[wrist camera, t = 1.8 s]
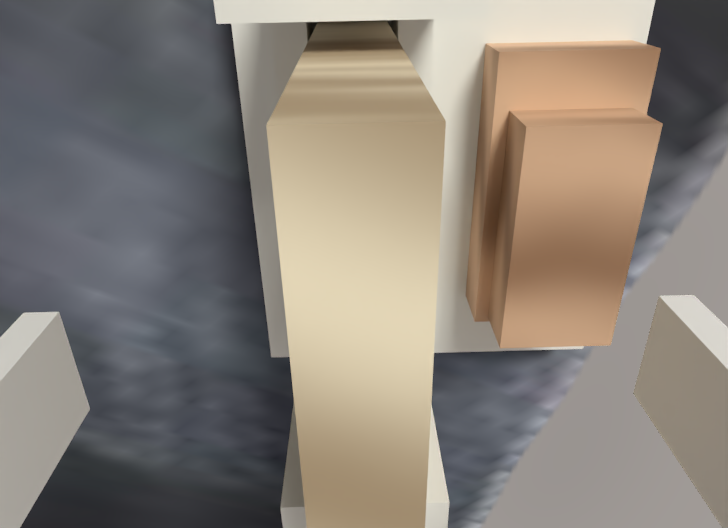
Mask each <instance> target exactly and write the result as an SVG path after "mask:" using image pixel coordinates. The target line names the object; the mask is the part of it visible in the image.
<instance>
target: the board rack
mask: <svg viewBox="0 0 728 528" xmlns="http://www.w3.org/2000/svg"><path fill="white" fill-rule="evenodd" d="M654 4H655V0H214V8H215V15H216V23H217V24H231V26H232V35H233V43H234V51H235V60H236V68H237V76H238V85H239V93H240V101H241V109H242V118H243V126H244V134H245V143H246V151H247V159H248V168H249V176H250V184H251V193H252V201H253V209H254V218H255V226H256V234H257V243H258V251H259V259H260V268H261V276H262V284H263V293H264V301H265V309H266V317H267V326H268V334H269V342H270V351H271V357H290V356H289V346H288V336H287V327H286V317H285V307H284V297H283V287H282V277H281V267H280V257H279V247H278V237H277V227H276V217H275V208H274V198H273V188H272V178H271V168H270V158H269V148H268V138H267V128H266V125H267V123H268V121H269V119H270V117H271V115H272V113H273V111H274V109H275V107H276V105H277V103H278V101H279V99H280V97H281V95H282V93H283V91H284V89H285V87H286V85H287V83H288V81H289V79H290V77H291V75H292V73H293V71H294V69H295V67H296V65H297V63H298V61H299V59H300V57H301V55H302V53H303V51H304V49H305V47H306V45H307V43H308V41H309V39H310V37H311V35H312V33H313V31H314V29H315V27H316V25H317V23H318V22H329V21H375V20H387V22H388V24H389V26H390V27H391V29H392V31H393V32H394V34H395V36H396V37H397V39H398V41H399V43H400V44H401V46H402V48H403V49H404V51H405V53H406V54H407V56H408V58H409V59H410V61H411V63H412V65H413V66H414V68H415V70H416V71H417V73H418V75H419V76H420V78H421V80H422V82H423V83H424V85H425V87H426V88H427V90H428V92H429V93H430V95H431V97H432V98H433V100H434V102H435V104H436V105H437V107H438V109H439V110H440V112H441V114H442V115H443V117H444V119H445V121H446V128H445V148H444V167H443V186H442V206H441V225H440V245H439V264H438V284H437V303H436V323H435V342H434V353H448V352H483V351H519V350H555V349H583V347H584V346H567V347H532V348H500V347H499V345H498V342H497V340H496V337H495V334H494V332H493V329H492V327H491V324H490V321H488V322H475V321H474V318H473V315H472V312H471V309H470V307H469V304H468V301H467V298H466V283H467V271H468V258H469V246H470V233H471V221H472V208H473V196H474V183H475V171H476V158H477V146H478V133H479V120H480V108H481V95H482V83H483V70H484V58H485V45H486V43H528V42H574V41H619V40H633V41H637V42H640V43H644V44H646V42H647V38H648V33H649V28H650V23H651V18H652V14H653V9H654ZM280 509H281V517H282V524H283V528H307V525H306V515H305V505H304V495H303V485H302V475H301V465H300V455H299V446H298V436H297V426H296V416H295V406H294V403H293V411H292V419H291V427H290V435H289V443H288V451H287V459H286V466H285V474H284V482H283V490H282V498H281V506H280ZM448 513H449V498H448V493H447V487H446V482H445V476H444V471H443V465H442V460H441V454H440V449H439V443H438V438H437V432H436V427H435V421H434V416H433V410H432V405H431V420H430V440H429V459H428V478H427V498H426V517H425V528H447V525H448Z"/></svg>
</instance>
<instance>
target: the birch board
mask: <svg viewBox="0 0 728 528" xmlns="http://www.w3.org/2000/svg"><path fill="white" fill-rule="evenodd" d="M266 128H267V138H268V148H269V158H270V168H271V178H272V188H273V198H274V208H275V217H276V227H277V237H278V247H279V257H280V267H281V277H282V287H283V297H284V307H285V317H286V327H287V336H288V346H289V356H290V366H291V376H292V386H293V396H294V406H295V416H296V426H297V436H298V446H299V455H300V465H301V475H302V485H303V495H304V505H305V515H306V525H307V528H425V517H426V498H427V478H428V459H429V440H430V420H431V401H432V381H433V362H434V342H435V323H436V303H437V284H438V264H439V245H440V225H441V206H442V186H443V167H444V148H445V128H446V121H445V119H444V117H443V115H442V114H441V112H440V110H439V109H438V107H437V105H436V104H435V102H434V100H433V98H432V97H431V95H430V93H429V92H428V90H427V88H426V87H425V85H424V83H423V82H422V80H421V78H420V76H419V75H418V73H417V71H416V70H415V68H414V66H413V65H412V63H411V61H410V59H409V58H408V56H407V54H406V53H405V51H404V49H403V48H402V46H401V44H400V43H399V41H398V39H397V37H396V36H395V34H394V32H393V31H392V29H391V27H390V26H389V24H388V22H387V20H375V21H329V22H318V23H317V25H316V27H315V29H314V31H313V33H312V35H311V37H310V39H309V41H308V43H307V45H306V47H305V49H304V51H303V53H302V55H301V57H300V59H299V61H298V63H297V65H296V67H295V69H294V71H293V73H292V75H291V77H290V79H289V81H288V83H287V85H286V87H285V89H284V91H283V93H282V95H281V97H280V99H279V101H278V103H277V105H276V107H275V109H274V111H273V113H272V115H271V117H270V119H269V121H268V123H267V125H266Z"/></svg>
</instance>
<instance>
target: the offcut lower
mask: <svg viewBox="0 0 728 528" xmlns="http://www.w3.org/2000/svg"><path fill="white" fill-rule="evenodd" d="M660 50H661V48H658V47H654V46H651V45H647V44H644V43H640V42H637V41H633V40H619V41H574V42H528V43H486V45H485V58H484V70H483V83H482V95H481V108H480V120H479V133H478V146H477V158H476V171H475V183H474V196H473V208H472V221H471V233H470V246H469V258H468V271H467V283H466V298H467V301H468V304H469V307H470V309H471V312H472V315H473V318H474V321H475V322H488V321H489V319H488V312H489V302H490V293H491V283H492V273H493V264H494V254H495V245H496V235H497V225H498V216H499V206H500V197H501V187H502V177H503V168H504V158H505V149H506V139H507V129H508V120H509V111H517V110H560V109H603V108H634V109H636V110H638V111H640V112H641V113H643V114H645V115H646V114H647V110H648V105H649V101H650V96H651V91H652V87H653V82H654V78H655V73H656V69H657V64H658V60H659V55H660Z"/></svg>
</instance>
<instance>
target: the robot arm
mask: <svg viewBox="0 0 728 528" xmlns="http://www.w3.org/2000/svg"><path fill="white" fill-rule="evenodd" d="M633 394H634V395H635V397H636V398H637V400H638V401H639V403H640V404H641V406H642V407H643V409H644V410H645V412H646V413H647V415H648V416H649V418H650V419H651V421H652V422H653V424H654V425H655V427H656V428H657V430H658V431H659V433H660V434H661V436H662V437H663V439H664V440H665V442H666V443H667V445H668V446H669V448H670V449H671V451H672V452H673V454H674V455H675V457H676V458H677V460H678V462H679V463H680V465H681V466H682V468H683V469H684V470H685V472H686V474H687V475H688V477H689V478H690V480H691V481H692V483H693V484H694V486H695V487H696V489H697V490H698V492H699V493H700V494H701V496H702V498H703V499H704V501H705V502H706V504H707V505H708V507H709V508H710V510H711V511H712V513H713V514H714V516H715V517H716V519H717V520H718V522H719V523H720V525H721V526H722V528H728V327H727V326H725V325H724V324H723V323H722V322H721V321H720V320H719V319H718V318H717V317H716V316H715V315H714V314H713V313H712V312H711V311H710V310H709V309H708V308H707V307H706V306H704V305H703V304H702V303H701V302H700V301H699V300H698V299H697V298H696V297H695V296H694V295H676V296H659V299H658V302H657V305H656V309H655V313H654V317H653V321H652V325H651V328H650V332H649V336H648V340H647V344H646V347H645V351H644V355H643V359H642V362H641V366H640V370H639V374H638V378H637V382H636V385H635V389H634V393H633ZM89 410H90V407H89V404H88V401H87V398H86V395H85V392H84V388H83V385H82V382H81V379H80V376H79V373H78V370H77V367H76V363H75V360H74V357H73V354H72V351H71V348H70V345H69V342H68V338H67V335H66V332H65V329H64V326H63V323H62V320H61V317H60V313H59V312H35V313H23V314H22V315H21V316H20V317H19V318H18V319H17V320H16V321H15V322H14V323H13V325H12V326H11V327H10V328H9V329H8V330H7V331H6V332H5V333H4V334H3V335H2V336H1V337H0V528H20V527H21V525H22V523H23V522H24V520H25V518H26V517H27V515H28V513H29V512H30V510H31V508H32V506H33V505H34V503H35V501H36V500H37V498H38V496H39V495H40V493H41V491H42V489H43V488H44V486H45V484H46V483H47V481H48V479H49V478H50V476H51V474H52V472H53V471H54V469H55V467H56V466H57V464H58V462H59V461H60V459H61V457H62V456H63V454H64V452H65V450H66V449H67V447H68V445H69V444H70V442H71V440H72V439H73V437H74V435H75V433H76V432H77V430H78V428H79V427H80V425H81V423H82V422H83V420H84V418H85V416H86V415H87V413H88V411H89Z"/></svg>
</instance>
